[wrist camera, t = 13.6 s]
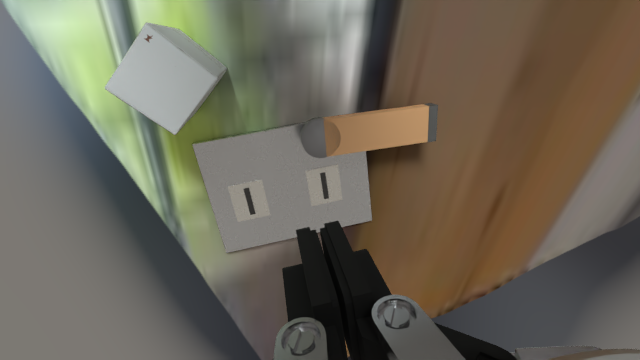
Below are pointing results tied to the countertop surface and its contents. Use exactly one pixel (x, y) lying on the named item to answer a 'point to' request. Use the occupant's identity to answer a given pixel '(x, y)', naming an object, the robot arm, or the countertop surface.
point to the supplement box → (165, 76)
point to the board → (279, 186)
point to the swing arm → (369, 130)
